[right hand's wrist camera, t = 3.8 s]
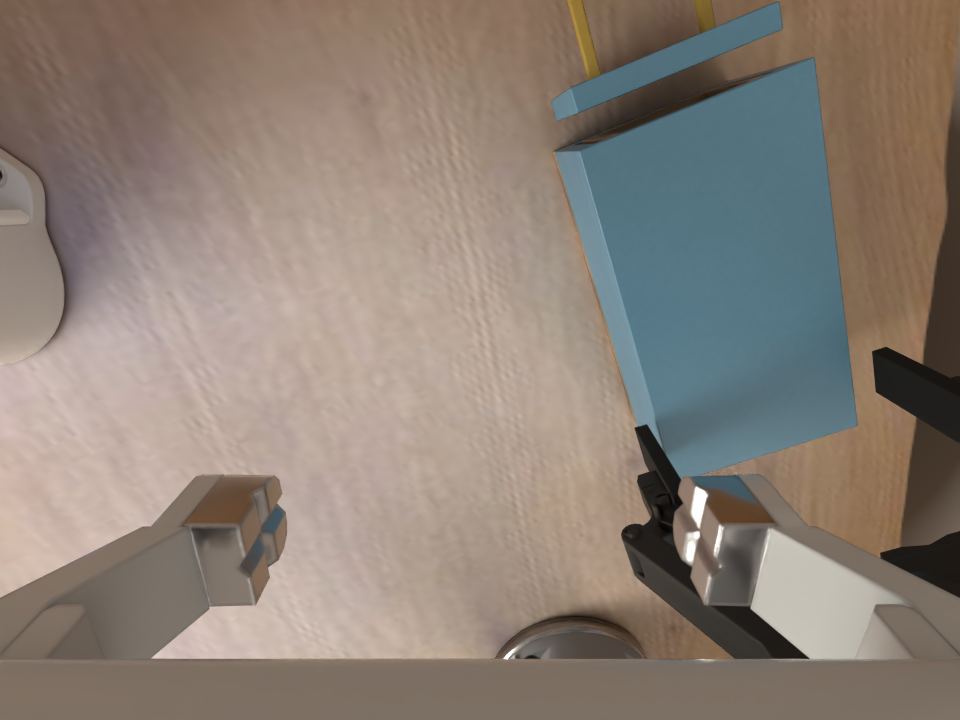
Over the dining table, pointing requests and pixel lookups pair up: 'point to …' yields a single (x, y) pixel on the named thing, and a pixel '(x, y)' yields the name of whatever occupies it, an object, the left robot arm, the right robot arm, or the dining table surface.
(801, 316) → the cabinet
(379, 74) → the dining table surface
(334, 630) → the dining table surface
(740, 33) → the drawer
